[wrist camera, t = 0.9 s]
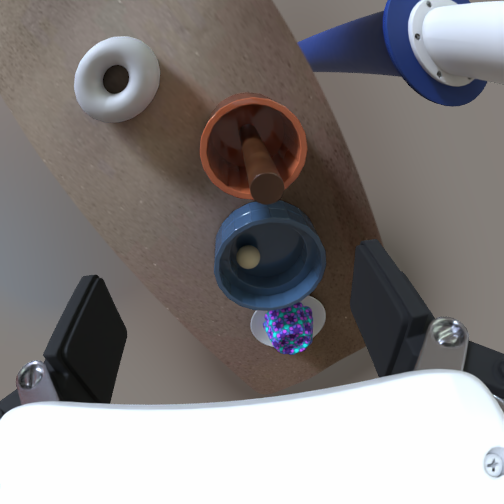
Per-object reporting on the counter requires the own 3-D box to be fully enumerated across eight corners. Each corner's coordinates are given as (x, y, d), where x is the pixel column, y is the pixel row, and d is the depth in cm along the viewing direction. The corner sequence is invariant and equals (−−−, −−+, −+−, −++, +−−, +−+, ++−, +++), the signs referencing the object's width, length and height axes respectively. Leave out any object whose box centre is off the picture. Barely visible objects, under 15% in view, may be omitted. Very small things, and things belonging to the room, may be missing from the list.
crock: (281, 86, 31) (298, 89, 23) (293, 162, 36) (312, 189, 28) (198, 102, 31) (188, 111, 24) (216, 177, 36) (213, 208, 28)
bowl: (309, 189, 38) (321, 207, 33) (318, 274, 45) (328, 299, 40) (204, 210, 38) (201, 231, 34) (228, 292, 45) (229, 318, 41)
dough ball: (256, 238, 40) (258, 251, 38) (260, 257, 42) (263, 271, 39) (233, 243, 40) (234, 256, 38) (238, 262, 42) (239, 275, 39)
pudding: (283, 353, 54) (287, 376, 49) (234, 321, 48) (235, 346, 44) (338, 316, 50) (347, 339, 45) (293, 276, 45) (300, 300, 40)
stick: (255, 122, 32) (281, 169, 17) (258, 139, 34) (286, 201, 18) (237, 126, 33) (246, 176, 17) (240, 143, 34) (253, 208, 18)
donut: (162, 31, 26) (79, 48, 26) (155, 26, 23) (66, 46, 23) (165, 114, 32) (85, 126, 31) (159, 118, 29) (73, 132, 28)
